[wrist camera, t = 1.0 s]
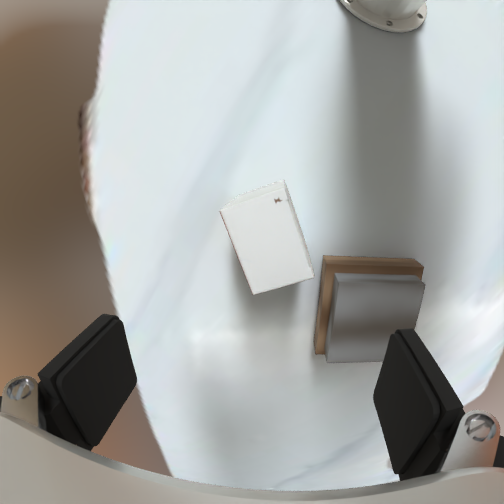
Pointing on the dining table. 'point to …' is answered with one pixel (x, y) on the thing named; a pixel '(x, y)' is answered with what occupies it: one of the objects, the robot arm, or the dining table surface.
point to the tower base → (365, 305)
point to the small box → (268, 238)
